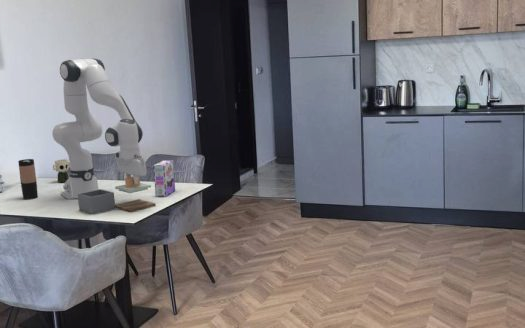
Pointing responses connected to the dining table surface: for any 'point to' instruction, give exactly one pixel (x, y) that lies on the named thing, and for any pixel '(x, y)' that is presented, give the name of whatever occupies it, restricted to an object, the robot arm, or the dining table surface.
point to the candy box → (164, 178)
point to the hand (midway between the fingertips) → (132, 183)
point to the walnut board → (134, 205)
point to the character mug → (61, 169)
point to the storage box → (96, 201)
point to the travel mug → (28, 178)
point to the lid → (132, 186)
